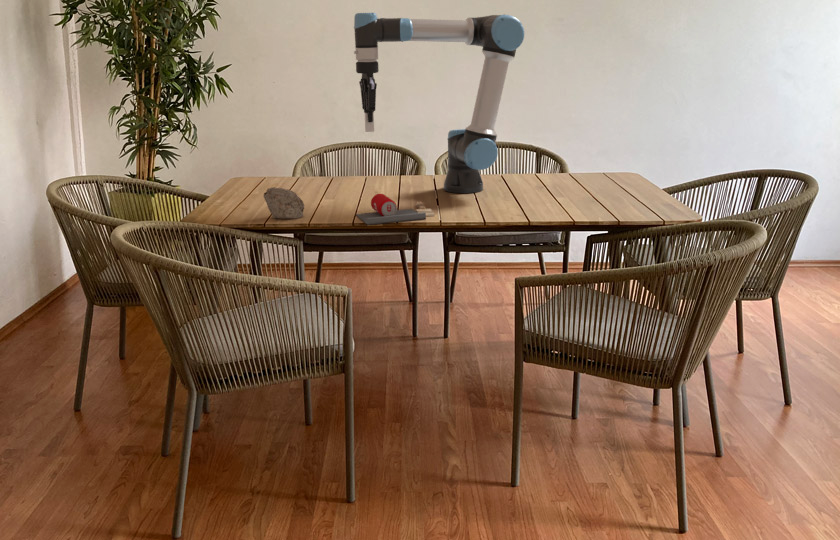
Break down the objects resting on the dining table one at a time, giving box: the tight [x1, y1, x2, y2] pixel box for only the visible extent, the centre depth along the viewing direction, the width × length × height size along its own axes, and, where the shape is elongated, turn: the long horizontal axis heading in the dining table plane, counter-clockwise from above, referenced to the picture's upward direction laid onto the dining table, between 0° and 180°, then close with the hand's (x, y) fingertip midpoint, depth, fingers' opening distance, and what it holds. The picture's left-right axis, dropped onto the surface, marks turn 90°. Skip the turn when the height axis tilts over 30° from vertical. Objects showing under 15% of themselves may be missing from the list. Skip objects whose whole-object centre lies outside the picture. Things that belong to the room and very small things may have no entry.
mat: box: [355, 208, 427, 226], centre depth 266 cm, size 20×14×2 cm
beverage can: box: [370, 193, 398, 217], centre depth 267 cm, size 6×6×12 cm
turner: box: [415, 201, 435, 218], centre depth 274 cm, size 17×5×1 cm, turn 9°
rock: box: [263, 187, 305, 219], centre depth 268 cm, size 14×10×8 cm
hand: (369, 131), depth 275 cm, fingers closed
